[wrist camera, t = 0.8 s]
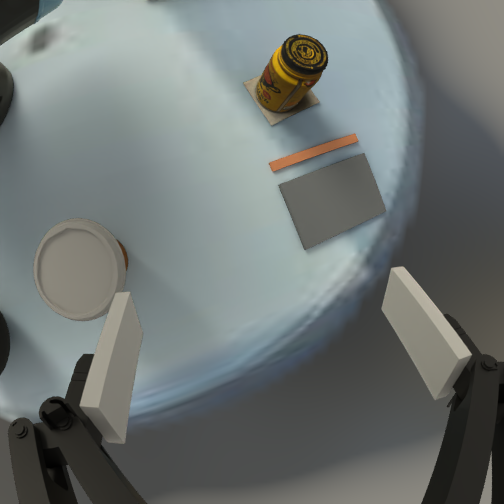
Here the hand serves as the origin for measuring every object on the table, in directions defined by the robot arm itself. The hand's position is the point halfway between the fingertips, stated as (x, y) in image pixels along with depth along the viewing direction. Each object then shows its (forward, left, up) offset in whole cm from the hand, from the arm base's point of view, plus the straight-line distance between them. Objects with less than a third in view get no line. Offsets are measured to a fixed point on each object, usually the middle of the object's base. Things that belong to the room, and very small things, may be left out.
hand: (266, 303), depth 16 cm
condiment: (-18, +17, -25) cm, 35 cm away
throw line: (-8, +18, -25) cm, 32 cm away
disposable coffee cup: (-6, -13, -25) cm, 29 cm away
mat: (-1, +18, -25) cm, 31 cm away
